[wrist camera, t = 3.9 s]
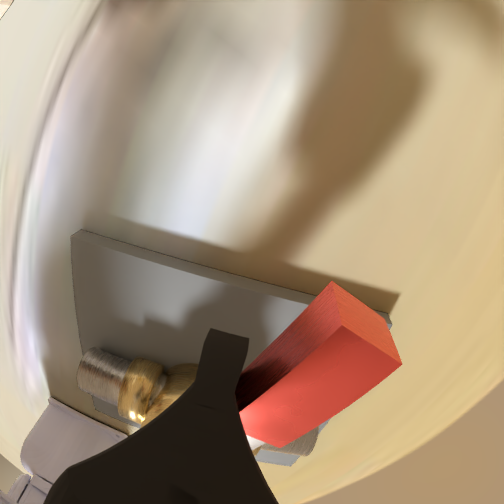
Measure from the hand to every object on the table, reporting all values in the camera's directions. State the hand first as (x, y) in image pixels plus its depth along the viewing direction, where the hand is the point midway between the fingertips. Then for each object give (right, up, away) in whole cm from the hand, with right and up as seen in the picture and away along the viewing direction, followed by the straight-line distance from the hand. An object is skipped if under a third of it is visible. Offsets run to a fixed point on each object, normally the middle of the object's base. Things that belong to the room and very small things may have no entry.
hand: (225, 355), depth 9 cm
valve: (-2, -5, +8) cm, 10 cm away
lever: (0, -3, +1) cm, 3 cm away
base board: (-2, -5, +8) cm, 10 cm away
